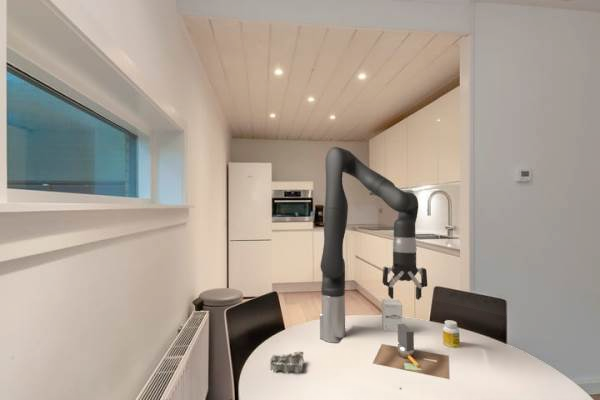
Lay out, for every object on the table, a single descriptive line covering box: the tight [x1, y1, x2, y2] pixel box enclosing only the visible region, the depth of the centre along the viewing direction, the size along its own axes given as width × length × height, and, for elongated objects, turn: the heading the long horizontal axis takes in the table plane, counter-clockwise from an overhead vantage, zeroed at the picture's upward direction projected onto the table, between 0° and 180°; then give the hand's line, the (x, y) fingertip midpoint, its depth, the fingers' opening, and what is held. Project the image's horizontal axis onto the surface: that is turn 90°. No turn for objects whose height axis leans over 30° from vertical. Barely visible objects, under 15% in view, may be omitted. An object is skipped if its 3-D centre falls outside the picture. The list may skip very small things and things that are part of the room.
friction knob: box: [397, 323, 419, 367], centre depth 100 cm, size 12×5×9 cm, turn 5°
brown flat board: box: [372, 343, 450, 380], centre depth 100 cm, size 22×16×2 cm
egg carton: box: [269, 351, 305, 374], centre depth 98 cm, size 11×8×4 cm
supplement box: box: [381, 298, 403, 333], centre depth 127 cm, size 7×7×13 cm
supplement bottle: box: [442, 319, 461, 349], centre depth 111 cm, size 5×5×10 cm
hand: (404, 298), depth 103 cm, fingers open, 8 cm apart
